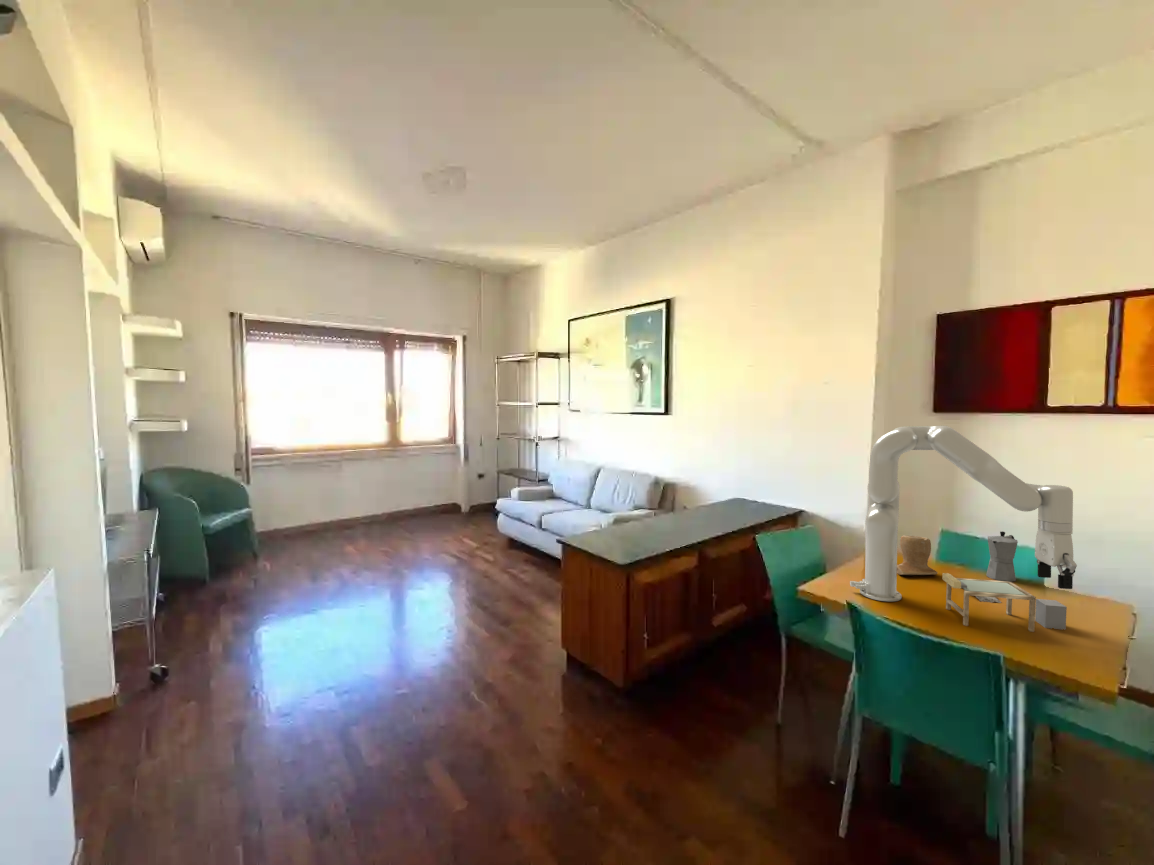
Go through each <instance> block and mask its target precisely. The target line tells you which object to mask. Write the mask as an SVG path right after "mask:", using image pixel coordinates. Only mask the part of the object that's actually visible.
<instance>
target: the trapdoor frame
mask: <svg viewBox="0 0 1154 865" xmlns="http://www.w3.org/2000/svg"><path fill="white" fill-rule="evenodd" d="M955 578H956V579H959V580H972V581H986V582H1000V583H1008V584H1009V585H1011V586H1012V587H1014V588H1016V589H1017V590H1019V591H1020V592H1022V593H1023V594H1025V595H1014V594H1001V593H988V592H974V591H966V590H963V607H962V608H961V607H960V606H959V605H958V604H957V603H956V602H954V601H953V600H952V589H953V587H952V586H950V585H949V584H948V583H947V582H946V589H945V590H946V596H945V601H946V602H945V609H946V610H947V611H951V609H952V608H953V609H954V610H955V611H957V612H958V613H959V614H960V615H961V616H962V625H963V626H965V627H968V626H969V620H970V618H969V617H970V616H969V615H970V596H973V597H974V596H983V597H995V598H997V599H998V598H999V599H1006V602H1005V604H1006V605H1005V606H1006V611H1005V614H1006V615H1009V616H1012V614H1013V609H1012V608H1013V600H1024V601H1029V603H1028V605H1029V606H1028V623H1027V624H1028V625H1027V626H1028V629H1027V630H1028V631H1029V632H1032V633H1035V629H1036V628H1035V624H1036V623H1035V622H1036V621H1035V612H1036V599H1037V597H1036V596H1034V595H1033V594H1031V593H1030V592H1028V591H1027V590H1025V589H1023V588H1021V586H1018V585H1017V584H1015V583H1014V582H1007V581H999V580H994V579H992V580H991V579H990V580H989V579H988V580H987V579H975V578H961V577H955Z"/></svg>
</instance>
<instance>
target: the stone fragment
mask: <svg viewBox="0 0 1154 865" xmlns="http://www.w3.org/2000/svg"><path fill="white" fill-rule="evenodd" d="M975 598H976V599H977V600H979V601H978V602H983V603H992V604H993V603H998V604H999V603H1000V604H1002V601H1001V600H999V599H998V598H996V597H983V596H975Z"/></svg>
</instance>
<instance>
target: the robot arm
mask: <svg viewBox="0 0 1154 865" xmlns="http://www.w3.org/2000/svg"><path fill="white" fill-rule="evenodd" d="M870 451H871V452H870V456H869V468H868V469H869V470H868V482H867V484H868V485H867V493H868V511H867V513H866V515H865V516H866V517H865V521H864V522H865V523H864V524H865V525H864V527H865V530H864V531H865V560H864V561H865V564H864V565H865V566H864V567H865V568H864V569H865V570H864V578H862V580H859V581H855V580H850V581H849V585H850V587H855V589H859V593H860V595H862V596H864V597H866V598H869V599H871V600H876V601H881V602H886V603H887V602H889V603H890V602H898V601H900V600H902V594H901V593H900V591H898V590H897V576H898V573H897V565H898V530H899V517H900V516H899V515H900V491H901V490H900V488H901V486H900V482H899V481H898V472H899V460H900V457H901V456H902V455H903V454H905V453H907V452H910V451H935V452H937V453H938V454H940V455H941V456H942V457H944V458H945V459H947V460H948V461H949V462H950V463H952V464H953V465H955V466H956V467H957V468H959V469H960V470H961V471H962V472H964V473H965V474H967V475H968V476H969V477H970V478H972V479H973V480H975V481H976V482H978V483H979V484H981V485H983V487H985V488H987V489H988V490H989V491H990V492H992V493H993V494H995V496H997V497H998V498H1000V499H1001V500H1003V501H1004V502H1005V503H1007V504H1008V505H1009V506H1010V507H1012V509H1013V508H1014V510H1017V511H1021V512H1026V513H1027V512H1032V511H1035V510H1037V509H1038V510H1037V531H1036V535H1035V544H1034V558H1035V559H1037V560H1036V564H1037V577H1038V578H1042V579H1043V578H1044V579H1045V578H1046V579H1050V578H1052V567H1053V568H1055V567H1056V569H1057V571H1058V573H1059V574H1057V588H1058V589H1063V590H1073V586H1074V583H1073V578H1074V576H1075V574H1076V569H1077V566H1078V565H1077V562H1075V560H1074V544H1073V537H1072V535H1073V532H1074V530H1073V527H1074V523H1073V518H1074V515H1073V514H1074V512H1073V511H1074V510H1073V509H1074V508H1073V507H1074V491H1073V489H1072V488H1070V487H1069V486H1065V485H1058V484H1057V485H1056V484H1046V485H1042V484H1035V483H1034V484H1033V483H1028V482H1025V481H1023V479H1021V478H1019V477H1018V476H1016V475H1015V474H1014V473H1012V472H1011V471H1009V470H1008V469H1007V468H1006V467H1005V466H1004V465H1002V464H1001V463H999V461H998V460H997V459H995V458H994V457H993V456H992V455H991V454H989V453H988V452H986V451H985V450H984V449H982V448H981V447H979V446H978V445H976V444H975V443H973V442H972V441H971V440H970V439H968V438H966V436H964V435H962V433H960V432H958V431H957V430H956V429H955V428H953V427H951V426H948V425H930V426H929V425H925V426H923V425H921V426H920V425H917V426H913V425H912V426H910V425H909V426H898V427H896V428H894V429H892V430H891V431H889V432H887V433H885V434H883V435H881V436H880V437H879V438H878V439H877V440H876V442H874V444H873V446H872V448H871V450H870Z"/></svg>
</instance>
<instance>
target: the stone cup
mask: <svg viewBox="0 0 1154 865" xmlns="http://www.w3.org/2000/svg"><path fill="white" fill-rule="evenodd" d="M899 541H900V542H899V545H900V546H899V547H900V550H901V554H902V559H903V560H902V563H900V564H897V575H901V576H930V575H931V576H933V575H937V574H939V573H938V571H937V570H935V569H933V568H931V567H930V566H929V565H928V562H929V558H930V557H931V552H932V544H931V543H932V542H931V540H930V538H928V537H924V536H918V535H901V537H900V540H899Z"/></svg>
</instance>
